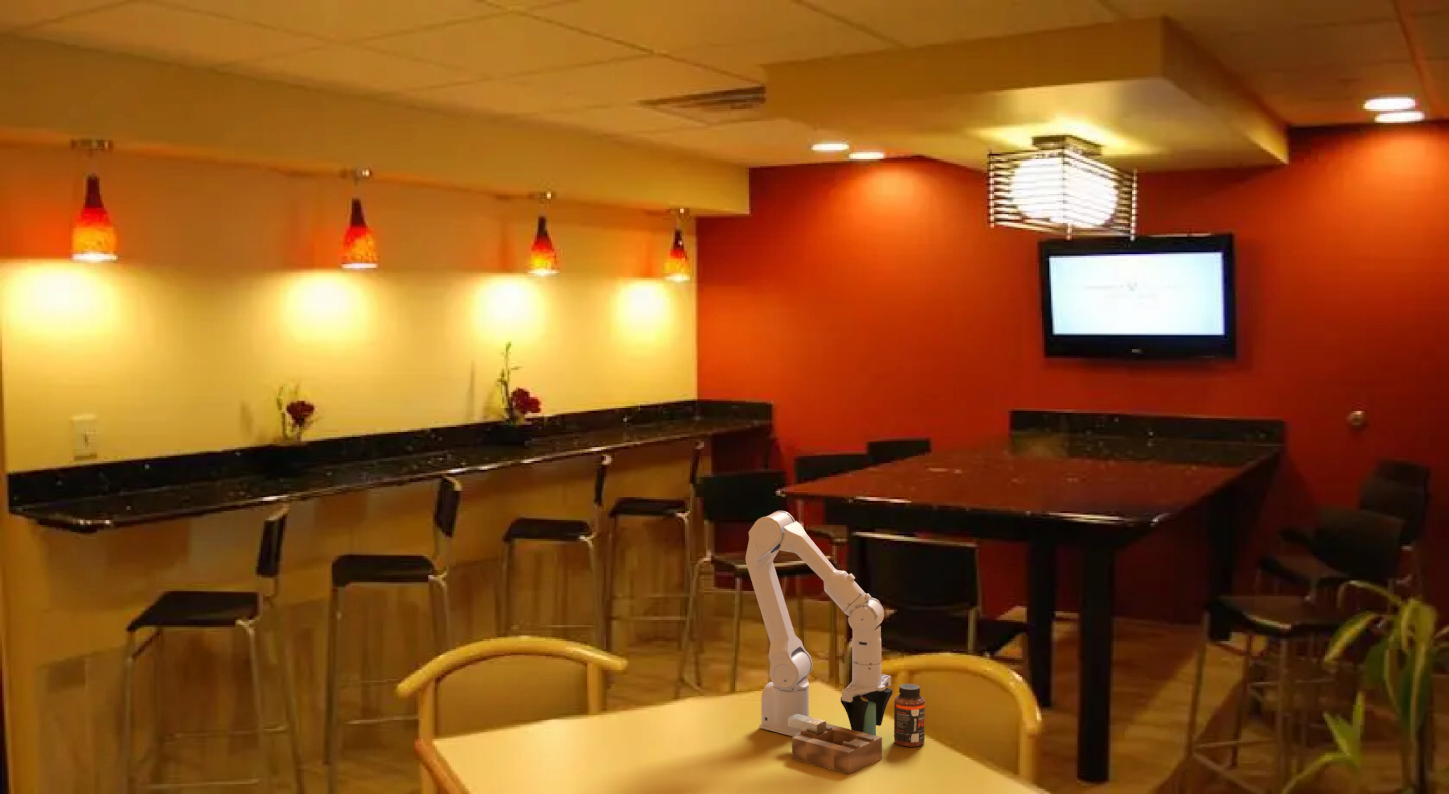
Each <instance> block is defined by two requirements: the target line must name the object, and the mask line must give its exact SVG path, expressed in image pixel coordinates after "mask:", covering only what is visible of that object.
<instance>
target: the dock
mask: <svg viewBox="0 0 1449 794" xmlns="http://www.w3.org/2000/svg"><path fill="white" fill-rule="evenodd" d="M882 758H883V737H881V736H878V735H876V736H875V735H871V734H867V733H863V732H859V731H855V730H852V729H850V728H847V727H846V728H845V727H842V726H839V725H835V724H831V723H827V722H826V730H825V731H823V732H821V733H818V734H815V733H811V732H807V731H801V734H800V735H797V736H795V737H792V738H791V759H792V760H796V761H800V762H804V763H807V764H811V765H814V766H817V765H818V767H821V768H823V769H824V768H825V769H828V770H832V771H836V772H839V771H840V773H842V772H843V774H846V773H847V774H846V775H850V774H852V773H854V772H856V771H858V770H860V769H862V768H864V767H867V766H868V765H870V764H873V763H875V762H877V761H879V760H881V759H882ZM876 760H877V761H876ZM874 761H875V762H874ZM872 762H873V763H872ZM829 768H830V769H829Z"/></svg>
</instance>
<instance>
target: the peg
mask: <svg viewBox="0 0 1449 794" xmlns="http://www.w3.org/2000/svg"><path fill="white" fill-rule="evenodd" d="M867 701H868V700H867ZM868 702H869V704H868V706H867V709H866V713H865V718H864V729H863V733H867V734H871V735H875V736H877V725H876V703H875V702H871V701H868Z"/></svg>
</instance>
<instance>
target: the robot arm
mask: <svg viewBox="0 0 1449 794" xmlns="http://www.w3.org/2000/svg"><path fill="white" fill-rule="evenodd" d="M779 551H783V552H789V553H794V554H796V555H797V556H798V557H799V558H800V559H801V560H802V561H803V562H804V563H805V564H806V565H807V566H808V567H809V568H810V570H812V571H813V572H814V573H815V574H816V575H817V576H818V577H819V578H820V579H821V580H822V581H823V590H824V592H825V593H826V594H827V595H828V596H829V598H830V599H831V600H832V601H833V602H834V603H835V604H836V605H837V606H838V607H839V609H841V611H842V612H843V613H844V614H845V615H846V616H848V618H847V621H848V624H849V626H850V628H851V629H852V638H851V641H852V643H851V644H852V645H851V649H852V650H851V652H852V659H851V663H852V664H851V665H852V666H851V667H852V669H851V671H852V672H851V673H852V674H851V675H852V677H851V679H852V680H851V682H850V683H849V684H848V686H846V688H845V689H843V690H841V697H840V703H841V705H842V706H843V708H844V710H845V712H846V714H847V718H848V721H849V725H850V728H851V730H855V731H859V732H863V729H864V718H865V713H866V709H867V706H868V704H869V702H868V701H871V702H875V703H876V727H877V726H878V727H880V726H882V723H883V719H884V715H885V713H886V709H887V706H888V703H889V701H890V699H891V697H892V695H893V689H891V688H887V687H890V686H891V685H892V676H891V675H888V674H882V637H881V636H882V632H881V630H882V629H881V628H882V626H881V623H882V622H883V620H884V617H885V609H884V607H883V606H882V604H881V601H880V600H879V599H877V598H874V597H872V596H871V595H870V593H866V592H865V591H864V590H863V589H862V588H861V586H859V584H858V583H857V582H856V581H855V579H856V577H855V575H854V574H853V573H848V572H847V571H846V570H838V569H836V568H835V567H834V565H833V564H832V563H831V561H829V559H828V558H827V556H825V554H824V553H823V552H822V550H820V548H819V547H818V546H817V545H816V544H815V542H814V541H813V539H811V537H810V536H809V535H808V534H807V532H806V531H805V529H804V527H803V526H802V524H801V523H800V522H798V521H797V520H795V518H794V517H793V515H791V514H790V513H789V512H787V511H785V510H777V511H774V512H772V513H771V514H769V515H767V516H762V517H760V518H758V519H757V520H756V521H755V522H754V524H753V525H752V526H751V528H750V529H749V531H748V543H747V548H746V554H745V564H746V567H747V571H748V574H749V577H750V580H751V582H752V583H751V584H752V587H753V590H754V594H755V596H756V597H755V598H756V599H757V600H756V601H757V604H758V607H759V609H760V613H761V616H762V620H763V623H764V627H765V631H766V633H767V636H768V640H769V643H770V644H769V649H768V650H769V651H768V661H769V663H770V664H769V666H770V667H769V670H768V671H769V679H770V681H769V682H768V683H767V684H766V685H765V686H764V688H763V689H762V692H761V698H760V699H761V700H760V703H761V706H760V707H761V710H760V712H761V714H760V715H761V719H760V720H761V724H759V725H758V727H759V729H762V730H766V731H771V732H773V733H774V732H775V733H778V734H781V735H785V736H790V737H792V738H793V737H795V736H797V735H800V734H801V731H803V730H799V729H795V728H792V727H788V717H790V716H793V715H795V714H801V715H805V716H809V717H810V683H809V679H808V676H809V675H810V673H811V672H812V669H813V666H814V665H813V659H812V657H811V655H810V653H808V651H806V649H805V647H804V645H803V641H802V640H801V639H800V638H799V637H798V636H797V635H796V633H795V631H794V627H793V623H792V620H791V617H790V614H789V610H788V607H787V604H786V600H785V597H784V593H783V591H782V587H781V584H780V580H779V578H778V575H777V571H776V568H775V565H774V564H775V563H774V559H775V557H776V556H777V555H778V553H779ZM864 695H866V698H867V700H864V699H863V698H862V696H864Z"/></svg>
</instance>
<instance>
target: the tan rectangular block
mask: <svg viewBox="0 0 1449 794" xmlns="http://www.w3.org/2000/svg"><path fill="white" fill-rule="evenodd" d="M826 723H827V720H824V719H820V718H817V717H813V716H810V715H809V716H805V715H801V714H795V715H793V716H790V717H788V727H792V728H795V729H799V730H803V731H807V732H811V733H815V734H818V733H821V732H823V731H825V730H826Z"/></svg>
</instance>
